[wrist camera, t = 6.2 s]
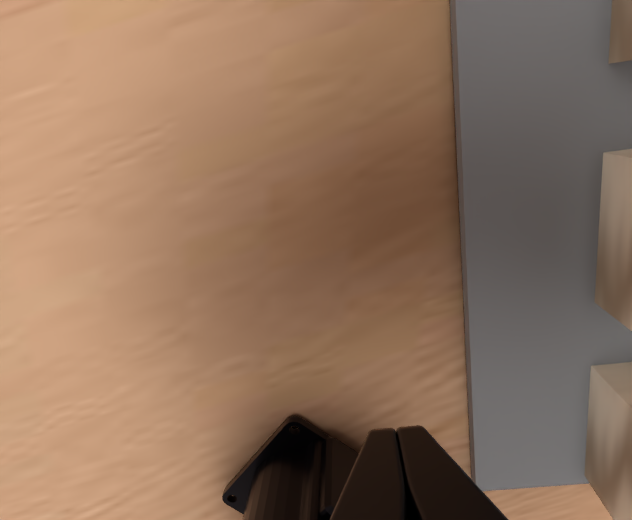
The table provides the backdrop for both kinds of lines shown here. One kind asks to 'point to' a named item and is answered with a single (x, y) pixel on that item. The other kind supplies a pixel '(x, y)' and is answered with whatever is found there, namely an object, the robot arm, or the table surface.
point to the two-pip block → (621, 31)
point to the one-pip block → (610, 437)
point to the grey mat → (534, 227)
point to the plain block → (615, 237)
